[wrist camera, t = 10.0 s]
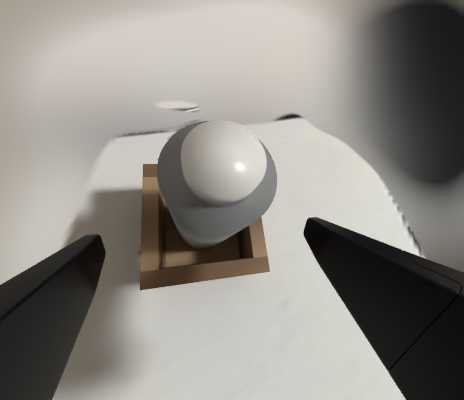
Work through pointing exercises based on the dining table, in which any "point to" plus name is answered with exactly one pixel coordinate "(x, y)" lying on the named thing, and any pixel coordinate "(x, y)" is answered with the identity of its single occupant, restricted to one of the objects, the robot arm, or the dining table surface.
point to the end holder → (184, 257)
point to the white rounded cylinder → (215, 181)
